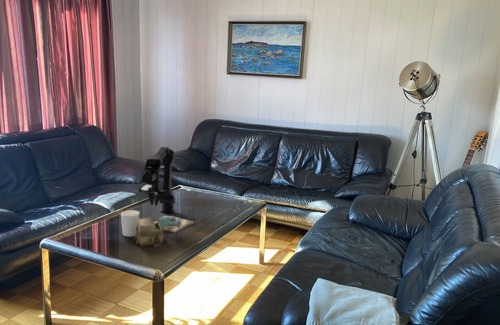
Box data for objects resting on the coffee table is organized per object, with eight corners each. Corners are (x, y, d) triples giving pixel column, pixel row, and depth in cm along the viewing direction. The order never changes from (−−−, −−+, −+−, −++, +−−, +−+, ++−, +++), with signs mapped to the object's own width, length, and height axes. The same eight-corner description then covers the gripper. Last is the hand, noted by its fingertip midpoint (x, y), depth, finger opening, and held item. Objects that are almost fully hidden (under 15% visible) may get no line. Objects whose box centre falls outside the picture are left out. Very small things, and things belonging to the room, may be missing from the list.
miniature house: (137, 249, 201) (137, 227, 198) (133, 238, 213) (133, 218, 211) (167, 245, 207) (167, 224, 204) (161, 235, 219) (161, 215, 217)
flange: (170, 218, 242) (170, 210, 241) (184, 221, 238) (184, 213, 237) (152, 225, 228) (152, 217, 227) (166, 229, 224) (166, 221, 223)
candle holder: (143, 232, 222) (143, 211, 220) (132, 238, 213) (132, 217, 211) (128, 229, 225) (128, 209, 223) (117, 235, 216) (116, 214, 214)
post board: (149, 225, 232) (149, 217, 231) (170, 217, 248) (170, 209, 247) (174, 232, 224) (174, 224, 223) (193, 223, 239) (193, 215, 238)
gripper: (131, 179, 226) (131, 205, 229) (156, 184, 217) (156, 212, 220) (145, 175, 235) (145, 201, 239) (170, 180, 227) (170, 207, 230)
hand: (154, 205), depth 232 cm, fingers open, 3 cm apart
